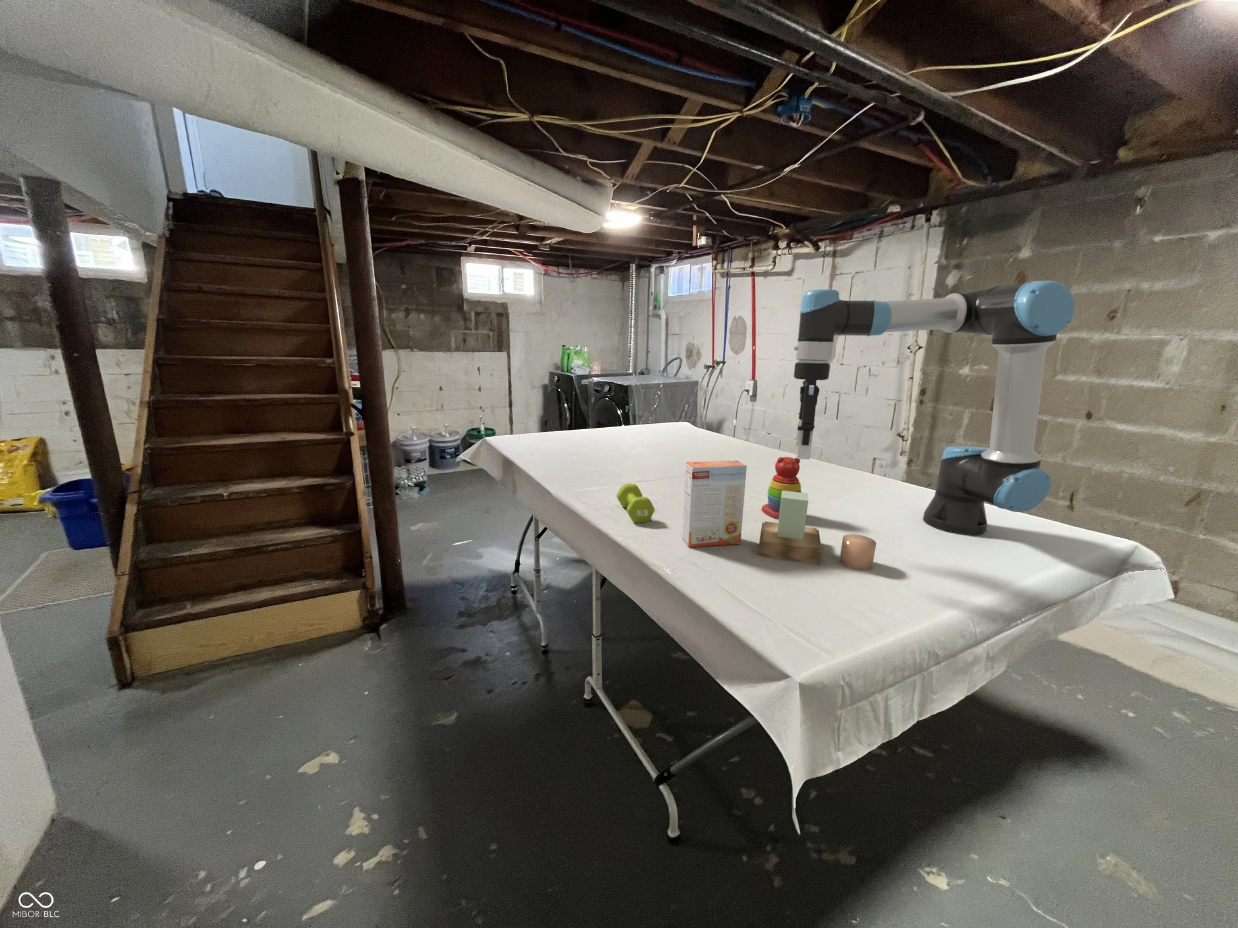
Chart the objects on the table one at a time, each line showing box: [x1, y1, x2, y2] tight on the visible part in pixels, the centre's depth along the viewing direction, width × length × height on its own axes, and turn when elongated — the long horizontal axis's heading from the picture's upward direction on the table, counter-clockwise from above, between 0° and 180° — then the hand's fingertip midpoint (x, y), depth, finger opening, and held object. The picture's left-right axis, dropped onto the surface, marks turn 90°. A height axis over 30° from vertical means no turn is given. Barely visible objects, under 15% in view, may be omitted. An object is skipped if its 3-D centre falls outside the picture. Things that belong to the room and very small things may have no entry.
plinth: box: [757, 521, 823, 566], centre depth 121 cm, size 14×14×4 cm
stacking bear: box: [761, 456, 802, 520], centre depth 142 cm, size 11×10×18 cm
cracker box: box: [682, 460, 748, 548], centre depth 122 cm, size 14×6×21 cm, turn 100°
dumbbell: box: [616, 483, 655, 524], centre depth 142 cm, size 16×8×7 cm, turn 13°
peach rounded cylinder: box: [838, 533, 877, 572], centre depth 113 cm, size 7×7×6 cm
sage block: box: [777, 491, 809, 540], centre depth 119 cm, size 6×6×10 cm
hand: (802, 452), depth 116 cm, fingers open, 13 cm apart
